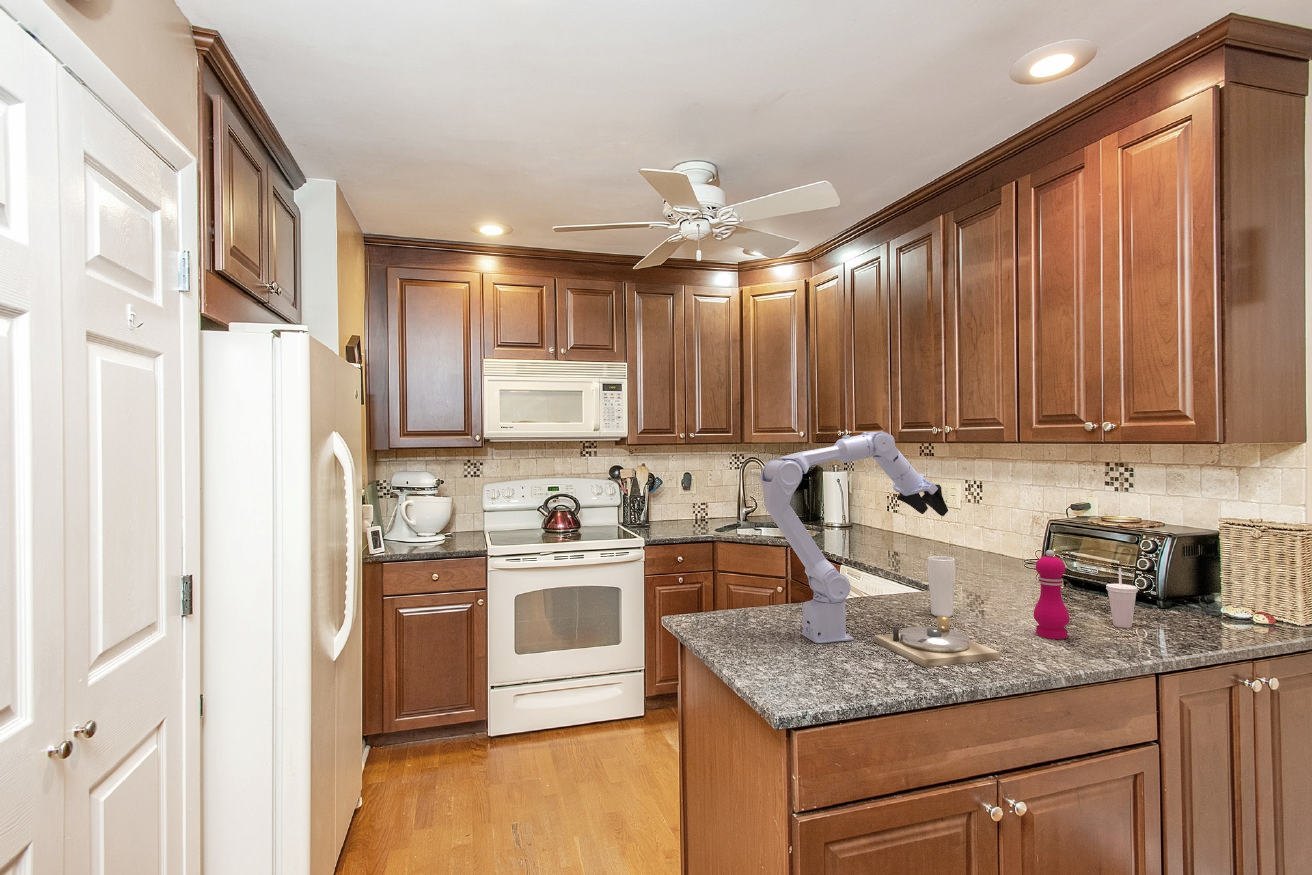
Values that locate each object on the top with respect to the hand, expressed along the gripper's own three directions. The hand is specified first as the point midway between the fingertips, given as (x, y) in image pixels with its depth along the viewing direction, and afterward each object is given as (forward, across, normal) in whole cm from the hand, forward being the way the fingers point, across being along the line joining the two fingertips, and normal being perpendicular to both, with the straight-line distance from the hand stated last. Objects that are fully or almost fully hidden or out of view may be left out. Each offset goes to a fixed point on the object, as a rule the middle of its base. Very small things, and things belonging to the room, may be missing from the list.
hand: (934, 512), depth 161 cm
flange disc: (+13, -13, +26) cm, 32 cm away
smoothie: (+52, -9, -14) cm, 54 cm away
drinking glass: (+28, +12, +12) cm, 32 cm away
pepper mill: (+36, -11, +3) cm, 38 cm away
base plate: (+14, -13, +27) cm, 34 cm away
